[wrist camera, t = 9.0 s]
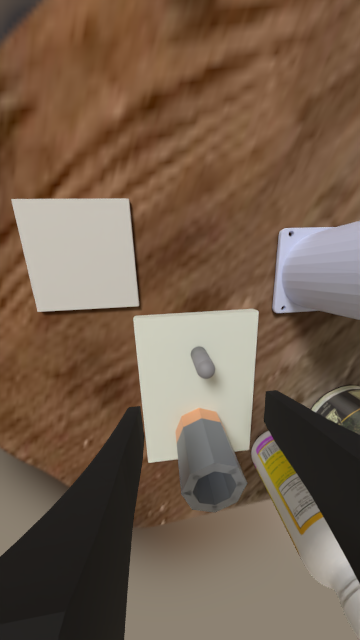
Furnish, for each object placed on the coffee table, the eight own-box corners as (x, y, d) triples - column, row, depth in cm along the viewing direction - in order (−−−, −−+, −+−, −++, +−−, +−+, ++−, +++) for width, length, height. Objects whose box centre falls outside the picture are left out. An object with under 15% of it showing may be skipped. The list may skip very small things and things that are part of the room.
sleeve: (210, 401, 20) (231, 454, 14) (227, 434, 21) (253, 494, 15) (169, 422, 20) (172, 482, 14) (188, 452, 21) (199, 520, 15)
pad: (129, 200, 16) (128, 198, 15) (139, 305, 18) (138, 306, 17) (15, 200, 15) (11, 199, 14) (40, 310, 17) (37, 311, 17)
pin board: (252, 308, 19) (283, 320, 14) (244, 441, 23) (266, 484, 18) (135, 315, 18) (125, 331, 13) (149, 453, 22) (145, 502, 17)
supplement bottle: (290, 465, 25) (416, 652, 13) (244, 466, 24) (332, 666, 12) (303, 425, 24) (460, 591, 11) (255, 424, 23) (367, 604, 10)
